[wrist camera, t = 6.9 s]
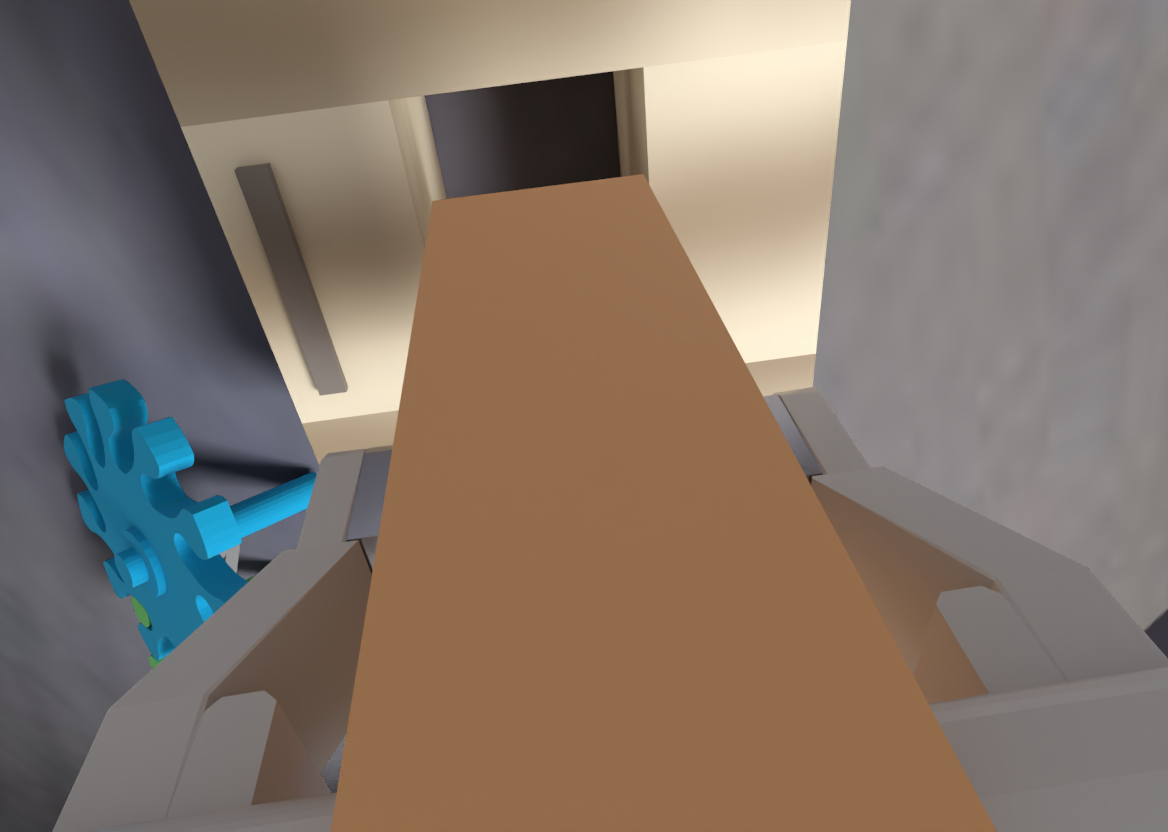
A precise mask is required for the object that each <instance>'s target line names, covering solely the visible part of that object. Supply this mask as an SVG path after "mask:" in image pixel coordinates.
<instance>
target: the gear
mask: <svg viewBox="0 0 1168 832" xmlns="http://www.w3.org/2000/svg"><path fill="white" fill-rule="evenodd" d="M65 405H66V408H67V411H68V414H69V416H70V418H71V421H72V423H73V424H74V426H75V428H76V430H77V431H76V432H73V433H69V434H66V435H65V438H64V452H65V454H66V456H67V458H68V460H69V462H70V464H71V465H72V467H73V468H74V470H75V471H76V472H77V473H78V474H79V476H80V477H81V478H82V480H83V481H84V483H85V484H86V486H87V488H88V489H89V490H86V491H83V492H81V493H78V494H77V497H78V503H79V507H80V511H81V514H82V518H83V520H84V522H85V524H86V525H87V527H88V528H89V529H90V530H91V531H92V532H95V533H96V534H98V535H99V536H100V537H101V538H102V539H103V540H104V541H105V542H106V544H107V545H108V546H109V548H110V549H111V550H112V552H113V553H114V558H112V559H109V560H107V561H104V562H103V564H104V567H105V570H106V573H107V575H108V578H109V580H110V582H111V585H112V587H113V589H114V591H115V593H116V595H117V596H118V597H119V598H124V597H126V596H128V595H131V596H133V597H132V605H133V608H134V611H135V613H136V615H137V617H138V618H139V620H140V622H141V623H139V625H138V628H139V631H140V634H141V636H142V638H143V640H144V641H145V643H146V645H147V647H148V648H149V650H150V652H151V653H152V655H150V656H149V662H150V665H151V667H152V669H153V668H154V667H156V666H157V665H158V664H159V663H160V662H161V661H162V660H163V659H164V658H165V657H167V656H168V655H169V654H170V653H171V652H172V651H173V650H174V649H175V648H176V647H178V646H179V645H180V644H181V643H182V642H183V641H184V640H185V639H186V638H188V637H189V636H190V635H191V634H192V633H193V632H194V631H195V630H196V629H197V628H199V627H200V626H201V625H202V624H203V623H204V622H205V621H206V620H207V619H208V618H210V617H211V616H212V615H213V614H214V613H215V612H216V611H217V610H218V609H219V608H221V607H222V606H223V605H224V604H225V603H226V602H227V601H228V600H229V599H230V598H232V597H233V596H234V595H235V594H236V593H237V592H238V591H239V590H240V589H241V588H243V587H244V586H245V585H246V584H247V583H248V582H249V581H250V580H251V579H252V578H254V577H255V576H256V575H255V576H253V577H251V578H249V579H247V580H245V579H243V578H241V577H240V576H239V575H238V574H237V566H238V558H239V549H240V544H241V543H242V541H241V538H243V537H245V536H248V535H250V534H252V533H254V532H256V531H259V530H261V529H263V528H265V527H267V526H270V525H272V524H274V523H276V522H278V521H280V520H283V519H285V518H287V517H289V516H291V515H294V514H296V513H298V512H300V511H302V510H305V509H307V507H308V504H309V500H310V497H311V493H312V490H313V486H314V483H315V480H316V476H317V474H316V473H314V472H311V473H308V474H306V475H303V476H301V477H299V478H296V479H294V480H292V481H289V482H287V483H284V484H282V485H280V486H277V487H275V488H272V489H270V490H268V491H265V492H263V493H260V494H258V495H256V496H253V497H251V498H248V499H246V500H244V501H241V502H239V503H236V504H234V505H232V506H229V503H228V501H227V500H226V499H225V498H224V497H222V496H220V495H216V496H214V497H211V498H209V499H206V500H204V501H201V502H199V503H198V502H196V501H194V500H192V499H191V498H189V497H188V496H187V495H186V494H185V493H184V491H183V490H182V488H181V487H180V485H179V482H178V480H177V477H176V474H175V472H177V471H180V470H183V469H185V468H188V467H191V466H192V465H193V463H194V453H193V451H192V449H191V447H190V445H189V443H188V441H187V439H186V437H185V436H184V434H183V433H182V431H181V429H180V428H179V426H178V425H177V423H176V422H175V420H174V419H173V417H168V418H165V419H162V420H159V421H155V422H152V423H149V424H146V423H147V421H148V412H147V407H146V404H145V401H144V398H143V397H142V396H141V394H140V393H139V392H138V391H137V390H136V389H135V388H134V387H133V386H132V385H131V384H130V383H128V382H127V381H126V380H124V379H122V380H118V381H115V382H111V383H107V384H103V385H99V386H95V387H92V388H89V393H86V394H83V395H79V396H75V397H71V398H68V399H66V400H65ZM145 424H146V425H145Z"/></svg>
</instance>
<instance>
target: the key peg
mask: <svg viewBox="0 0 1168 832" xmlns="http://www.w3.org/2000/svg"><path fill="white" fill-rule="evenodd" d="M331 832H997V830H996V829H995V827H994V825H993V823H992V821H991V819H990V817H989V816H988V814H987V812H986V810H985V808H984V806H983V804H982V803H981V801H980V799H979V797H978V795H977V793H976V791H975V790H974V788H973V786H972V784H971V782H970V780H969V778H968V777H967V775H966V773H965V771H964V769H963V767H962V765H961V764H960V762H959V760H958V758H957V756H956V754H955V752H954V750H953V749H952V747H951V745H950V743H949V741H948V739H947V737H946V736H945V734H944V732H943V730H942V728H941V726H940V724H939V723H938V721H937V719H936V717H935V715H934V713H933V711H932V710H931V708H930V706H929V704H928V702H927V700H926V698H925V697H924V695H923V693H922V691H921V689H920V687H919V685H918V684H917V682H916V680H915V678H914V676H913V674H912V672H911V671H910V669H909V667H908V665H907V663H906V661H905V659H904V658H903V656H902V654H901V652H900V650H899V648H898V646H897V645H896V643H895V641H894V639H893V637H892V635H891V633H890V632H889V630H888V628H887V626H886V624H885V622H884V620H883V618H882V617H881V615H880V613H879V611H878V609H877V607H876V605H875V604H874V602H873V600H872V598H871V596H870V594H869V592H868V591H867V589H866V587H865V585H864V583H863V581H862V579H861V578H860V576H859V574H858V572H857V570H856V568H855V566H854V565H853V563H852V561H851V559H850V557H849V555H848V553H847V552H846V550H845V548H844V546H843V544H842V542H841V540H840V539H839V537H838V535H837V533H836V531H835V529H834V527H833V526H832V524H831V522H830V520H829V518H828V516H827V514H826V513H825V511H824V509H823V507H822V505H821V503H820V501H819V500H818V498H817V496H816V494H815V492H814V490H813V488H812V486H811V485H810V483H809V481H808V479H807V477H806V475H805V473H804V472H803V470H802V468H801V466H800V464H799V462H798V460H797V459H796V457H795V455H794V453H793V451H792V449H791V447H790V446H789V444H788V442H787V440H786V438H785V436H784V434H783V433H782V431H781V429H780V427H779V425H778V423H777V421H776V420H775V418H774V416H773V414H772V412H771V410H770V408H769V407H768V405H767V403H766V401H765V399H764V397H763V395H762V394H761V392H760V390H759V388H758V386H757V384H756V382H755V381H754V379H753V377H752V375H751V373H750V371H749V369H748V367H747V366H746V364H745V362H744V360H743V358H742V356H741V354H740V353H739V351H738V349H737V347H736V345H735V343H734V341H733V340H732V338H731V336H730V334H729V332H728V330H727V328H726V327H725V325H724V323H723V321H722V319H721V317H720V315H719V314H718V312H717V310H716V308H715V306H714V304H713V302H712V301H711V299H710V297H709V295H708V293H707V291H706V289H705V288H704V286H703V284H702V282H701V280H700V278H699V276H698V275H697V273H696V271H695V269H694V267H693V265H692V263H691V262H690V260H689V258H688V256H687V254H686V252H685V250H684V249H683V247H682V245H681V243H680V241H679V239H678V237H677V235H676V234H675V232H674V230H673V228H672V226H671V224H670V222H669V221H668V219H667V217H666V215H665V213H664V211H663V209H662V208H661V206H660V204H659V202H658V200H657V198H656V196H655V195H654V193H653V191H652V189H651V187H650V185H649V183H648V182H647V180H646V178H645V176H644V174H640V175H632V176H624V177H616V178H609V179H601V180H593V181H585V182H577V183H569V184H561V185H553V186H546V187H538V188H530V189H522V190H514V191H506V192H498V193H490V194H483V195H475V196H467V197H459V198H451V199H443V200H435V201H432V207H431V213H430V219H429V226H428V232H427V238H426V244H425V250H424V256H423V263H422V269H421V275H420V281H419V287H418V294H417V300H416V306H415V312H414V318H413V325H412V331H411V337H410V343H409V349H408V355H407V362H406V368H405V374H404V380H403V386H402V393H401V399H400V405H399V411H398V417H397V423H396V430H395V436H394V442H393V448H392V454H391V461H390V467H389V473H388V479H387V485H386V492H385V498H384V504H383V510H382V516H381V522H380V529H379V535H378V541H377V547H376V553H375V560H374V566H373V572H372V578H371V584H370V590H369V597H368V603H367V609H366V615H365V621H364V628H363V634H362V640H361V646H360V652H359V659H358V665H357V671H356V677H355V683H354V689H353V696H352V702H351V708H350V714H349V720H348V727H347V733H346V739H345V745H344V751H343V757H342V764H341V770H340V776H339V782H338V788H337V795H336V801H335V807H334V813H333V819H332V826H331Z"/></svg>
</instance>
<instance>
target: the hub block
mask: <svg viewBox="0 0 1168 832" xmlns="http://www.w3.org/2000/svg"><path fill="white" fill-rule="evenodd" d="M129 2H130V4H131V6H132V9H133V11H134V14H135V16H136V19H137V21H138V24H139V26H140V28H141V31H142V33H143V36H144V38H145V41H146V43H147V46H148V48H149V50H150V53H151V55H152V58H153V60H154V63H155V65H156V68H157V70H158V72H159V75H160V77H161V80H162V82H163V85H164V87H165V90H166V92H167V94H168V97H169V99H170V102H171V104H172V107H173V109H174V112H175V114H176V116H177V119H178V121H179V124H180V126H181V129H182V131H183V134H184V136H185V138H186V141H187V143H188V146H189V148H190V151H191V153H192V156H193V158H194V160H195V163H196V165H197V168H198V170H199V173H200V175H201V178H202V180H203V182H204V185H205V187H206V190H207V192H208V195H209V197H210V200H211V202H212V204H213V207H214V209H215V212H216V214H217V217H218V219H219V221H220V224H221V226H222V229H223V231H224V234H225V236H226V239H227V241H228V243H229V246H230V248H231V251H232V253H233V256H234V258H235V261H236V263H237V265H238V268H239V270H240V273H241V275H242V278H243V280H244V283H245V285H246V287H247V290H248V292H249V295H250V297H251V300H252V302H253V305H254V307H255V309H256V312H257V314H258V317H259V319H260V322H261V324H262V327H263V329H264V331H265V334H266V336H267V339H268V341H269V344H270V346H271V349H272V351H273V353H274V356H275V358H276V361H277V363H278V366H279V368H280V371H281V373H282V375H283V378H284V380H285V383H286V385H287V388H288V390H289V393H290V395H291V397H292V400H293V402H294V405H295V407H296V410H297V412H298V415H299V417H300V419H301V422H302V424H303V427H304V429H305V432H306V434H307V437H308V439H309V441H310V444H311V446H312V449H313V451H314V454H315V456H316V458H317V461H318V463H319V466H320V462H321V460H322V459H323V458H324V457H325V456H326V455H327V454H328V453H333V452H341V451H349V450H356V449H369V448H371V447H380V446H388V445H393V442H394V436H395V430H396V423H397V417H398V411H399V405H400V399H401V393H402V386H403V380H404V374H405V368H406V362H407V355H408V349H409V343H410V337H411V331H412V325H413V318H414V312H415V306H416V300H417V294H418V287H419V281H420V275H421V269H422V263H423V256H424V250H425V244H426V238H427V232H428V226H429V219H430V213H431V207H432V201H435V200H443V199H447V197H446V193H445V188H444V184H443V179H442V174H441V170H440V165H439V160H438V156H437V151H436V146H435V142H434V137H433V132H432V128H431V123H430V119H429V114H428V109H427V105H426V100H425V95H433V94H441V93H448V92H456V91H464V90H472V89H479V88H487V87H495V86H502V85H510V84H518V83H526V82H533V81H541V80H549V79H557V78H564V77H572V76H580V75H588V74H595V73H603V72H611V71H613V75H614V89H615V103H616V117H617V131H618V145H619V159H620V173H621V177H624V176H632V175H640V174H644V176H645V178H646V180H647V182H648V183H649V185H650V187H651V189H652V191H653V193H654V195H655V196H656V198H657V200H658V202H659V204H660V206H661V208H662V209H663V211H664V213H665V215H666V217H667V219H668V221H669V222H670V224H671V226H672V228H673V230H674V232H675V234H676V235H677V237H678V239H679V241H680V243H681V245H682V247H683V249H684V250H685V252H686V254H687V256H688V258H689V260H690V262H691V263H692V265H693V267H694V269H695V271H696V273H697V275H698V276H699V278H700V280H701V282H702V284H703V286H704V288H705V289H706V291H707V293H708V295H709V297H710V299H711V301H712V302H713V304H714V306H715V308H716V310H717V312H718V314H719V315H720V317H721V319H722V321H723V323H724V325H725V327H726V328H727V330H728V332H729V334H730V336H731V338H732V340H733V341H734V343H735V345H736V347H737V349H738V351H739V353H740V354H741V356H742V358H743V360H744V362H745V364H746V366H747V367H748V369H749V371H750V373H751V375H752V377H753V379H754V381H755V382H756V384H757V386H758V388H759V390H760V392H761V394H762V395H763V396H768V395H773V394H774V393H778V392H784V391H790V390H796V389H802V388H808V387H812V386H813V376H814V366H815V356H816V346H817V336H818V326H819V316H820V306H821V296H822V286H823V276H824V266H825V256H826V246H827V236H828V225H829V215H830V205H831V195H832V185H833V175H834V165H835V155H836V145H837V135H838V125H839V115H840V105H841V95H842V85H843V75H844V65H845V55H846V45H847V35H848V24H849V14H850V4H851V0H129Z"/></svg>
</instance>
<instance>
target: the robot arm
mask: <svg viewBox="0 0 1168 832" xmlns="http://www.w3.org/2000/svg"><path fill="white" fill-rule="evenodd" d="M763 397H764V399H765V401H766V403H767V405H768V407H769V408H770V410H771V412H772V414H773V416H774V418H775V420H776V421H777V423H778V425H779V427H780V429H781V431H782V433H783V434H784V436H785V438H786V440H787V442H788V444H789V446H790V447H791V449H792V451H793V453H794V455H795V457H796V459H797V460H798V462H799V464H800V466H801V468H802V470H803V472H804V473H805V475H806V477H807V479H808V481H809V483H810V485H811V486H812V488H813V490H814V492H815V494H816V496H817V498H818V500H819V501H820V503H821V505H822V507H823V509H824V511H825V513H826V514H827V516H828V518H829V520H830V522H831V524H832V526H833V527H834V529H835V531H836V533H837V535H838V537H839V539H840V540H841V542H842V544H843V546H844V548H845V550H846V552H847V553H848V555H849V557H850V559H851V561H852V563H853V565H854V566H855V568H856V570H857V572H858V574H859V576H860V578H861V579H862V581H863V583H864V585H865V587H866V589H867V591H868V592H869V594H870V596H871V598H872V600H873V602H874V604H875V605H876V607H877V609H878V611H879V613H880V615H881V617H882V618H883V620H884V622H885V624H886V626H887V628H888V630H889V632H890V633H891V635H892V637H893V639H894V641H895V643H896V645H897V646H898V648H899V650H900V652H901V654H902V656H903V658H904V659H905V661H906V663H907V665H908V667H909V669H910V671H911V672H912V674H913V676H914V678H915V680H916V682H917V684H918V685H919V687H920V689H921V691H922V693H923V695H924V697H925V698H926V700H927V702H928V704H929V706H930V708H931V710H932V711H933V713H934V715H935V717H936V719H937V721H938V723H939V724H940V726H941V728H942V730H943V732H944V734H945V736H946V737H947V739H948V741H949V743H950V745H951V747H952V749H953V750H954V752H955V754H956V756H957V758H958V760H959V762H960V764H961V765H962V767H963V769H964V771H965V773H966V775H967V777H968V778H969V780H970V782H971V784H972V786H973V788H974V790H975V791H976V793H977V795H978V797H979V799H980V801H981V803H982V804H983V806H984V808H985V810H986V812H987V814H988V816H989V817H990V819H991V821H992V823H993V825H994V827H995V829H996V830H997V832H1168V659H1167V658H1166V656H1164V654H1163V653H1162V652H1161V651H1160V650H1159V648H1158V647H1157V646H1156V645H1155V644H1154V643H1153V641H1152V640H1151V639H1150V638H1149V637H1148V636H1147V635H1146V633H1145V632H1144V631H1143V630H1142V629H1141V628H1140V627H1139V625H1138V624H1137V623H1136V622H1135V621H1134V620H1133V618H1132V617H1131V616H1130V615H1129V614H1128V613H1127V612H1126V610H1125V609H1124V608H1123V607H1122V606H1121V605H1120V603H1119V602H1118V601H1117V600H1116V599H1115V598H1114V597H1113V595H1112V594H1111V593H1110V592H1109V591H1108V590H1107V589H1106V587H1105V586H1104V585H1103V584H1102V583H1101V582H1100V580H1099V579H1098V578H1097V577H1096V576H1095V575H1094V574H1093V572H1092V571H1091V570H1090V569H1089V568H1088V567H1086V566H1084V565H1082V564H1080V563H1078V562H1076V561H1074V560H1072V559H1070V558H1068V557H1066V556H1064V555H1062V554H1060V553H1058V552H1055V551H1053V550H1051V549H1049V548H1047V547H1045V546H1043V545H1041V544H1039V543H1037V542H1035V541H1033V540H1031V539H1029V538H1027V537H1025V536H1023V535H1021V534H1019V533H1017V532H1015V531H1013V530H1011V529H1009V528H1007V527H1005V526H1003V525H1001V524H999V523H997V522H995V521H993V520H991V519H989V518H987V517H985V516H983V515H981V514H979V513H977V512H974V511H972V510H970V509H968V508H966V507H964V506H962V505H960V504H958V503H956V502H954V501H952V500H950V499H948V498H946V497H944V496H942V495H940V494H938V493H936V492H934V491H932V490H930V489H928V488H926V487H924V486H922V485H920V484H918V483H916V482H914V481H912V480H910V479H908V478H906V477H904V476H902V475H900V474H898V473H896V472H893V471H891V470H889V469H887V468H885V467H876V468H871V467H870V465H869V464H868V462H867V461H866V459H865V458H864V456H863V455H862V453H861V452H860V450H859V449H858V447H857V446H856V444H855V443H854V441H853V440H852V438H851V437H850V435H849V434H848V432H847V431H846V429H845V428H844V426H843V425H842V423H841V422H840V420H839V419H838V417H837V416H836V414H835V413H834V411H833V410H832V408H831V407H830V405H829V403H828V402H827V400H826V399H825V397H824V396H823V394H822V393H821V391H820V390H818V389H816V388H814V387H808V388H802V389H796V390H790V391H784V392H778V393H774V394H773V395H768V396H763ZM392 448H393V445H388V446H380V447H371V448H369V449H356V450H349V451H341V452H333V453H328V454H327V455H326V456H325V457H324V458H323V459H322V460H321V462H320V466H319V469H318V473H317V476H316V480H315V483H314V486H313V490H312V493H311V497H310V500H309V504H308V507H307V511H306V514H305V518H304V521H303V525H302V528H301V532H300V535H299V539H298V542H297V545H296V549H291V550H284V551H282V552H281V553H280V554H279V555H278V556H277V557H276V558H274V559H273V560H272V561H271V562H270V563H269V564H268V565H267V566H266V567H265V568H263V569H262V570H261V571H260V572H259V573H258V574H257V575H256V576H255V577H254V578H252V579H251V580H250V581H249V582H248V583H247V584H246V585H245V586H244V587H243V588H241V589H240V590H239V591H238V592H237V593H236V594H235V595H234V596H233V597H232V598H230V599H229V600H228V601H227V602H226V603H225V604H224V605H223V606H222V607H221V608H219V609H218V610H217V611H216V612H215V613H214V614H213V615H212V616H211V617H210V618H208V619H207V620H206V621H205V622H204V623H203V624H202V625H201V626H200V627H199V628H197V629H196V630H195V631H194V632H193V633H192V634H191V635H190V636H189V637H188V638H186V639H185V640H184V641H183V642H182V643H181V644H180V645H179V646H178V647H176V648H175V649H174V650H173V651H172V652H171V653H170V654H169V655H168V656H167V657H165V658H164V659H163V660H162V661H161V662H160V663H159V664H158V665H157V666H156V667H154V668H153V669H152V670H151V671H150V672H149V673H148V674H147V675H146V676H145V677H143V678H142V679H141V680H140V681H139V682H138V683H137V684H136V685H135V686H134V687H132V688H131V689H130V690H129V691H128V692H127V693H126V694H125V695H124V696H123V697H121V698H120V699H119V700H118V701H117V702H116V703H115V704H114V705H113V706H112V707H110V708H109V709H108V711H107V713H106V716H105V718H104V720H103V722H102V724H101V726H100V729H99V731H98V733H97V735H96V737H95V740H94V742H93V744H92V746H91V748H90V750H89V753H88V755H87V757H86V759H85V761H84V764H83V766H82V768H81V770H80V772H79V774H78V777H77V779H76V781H75V783H74V785H73V788H72V790H71V792H70V794H69V796H68V798H67V801H66V803H65V805H64V807H63V809H62V812H61V814H60V816H59V818H58V820H57V822H56V825H55V827H54V829H53V831H52V832H331V826H332V819H333V813H334V807H335V801H336V795H337V792H336V793H331V791H330V789H329V788H328V786H327V784H326V783H325V781H324V779H323V778H322V776H321V774H320V773H321V771H322V770H323V768H324V767H325V765H326V764H327V762H328V761H329V759H330V758H331V756H332V754H333V753H334V751H335V750H336V748H337V747H338V745H339V744H340V742H341V741H342V739H343V738H344V736H345V735H346V733H347V727H348V720H349V714H350V708H351V702H352V696H353V689H354V683H355V677H356V671H357V665H358V659H359V652H360V646H361V640H362V634H363V628H364V621H365V615H366V609H367V603H368V597H369V590H370V584H371V578H372V572H373V566H374V560H375V553H376V547H377V541H378V535H379V529H380V522H381V516H382V510H383V504H384V498H385V492H386V485H387V479H388V473H389V467H390V461H391V454H392Z"/></svg>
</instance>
